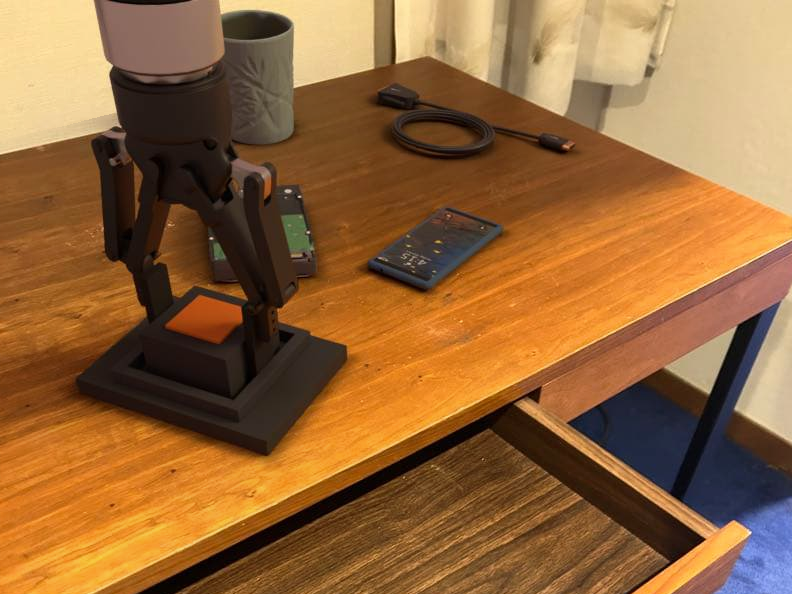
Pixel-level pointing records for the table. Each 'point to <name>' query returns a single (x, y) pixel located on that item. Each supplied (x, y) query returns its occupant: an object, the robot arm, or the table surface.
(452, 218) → the smartphone
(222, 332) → the black and orange block
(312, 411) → the table surface
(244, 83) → the grey embossed cup
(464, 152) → the cable
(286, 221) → the disk drive
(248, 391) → the base pad
